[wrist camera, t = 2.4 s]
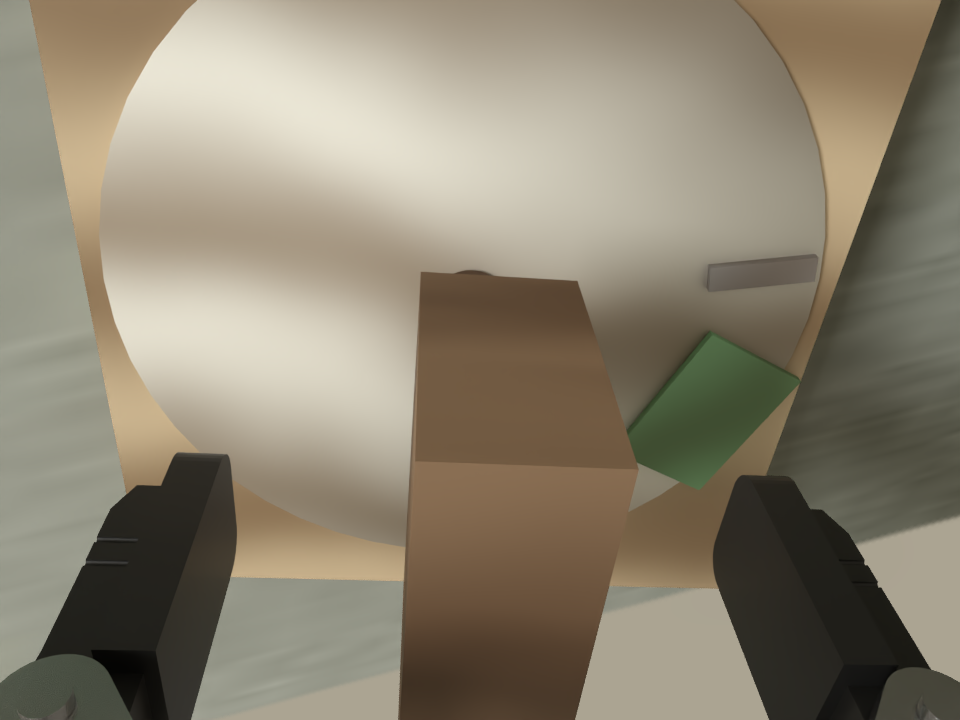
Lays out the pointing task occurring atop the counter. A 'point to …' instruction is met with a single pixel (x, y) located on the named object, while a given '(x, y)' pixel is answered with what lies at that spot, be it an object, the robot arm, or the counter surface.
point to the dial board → (460, 230)
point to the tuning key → (508, 500)
